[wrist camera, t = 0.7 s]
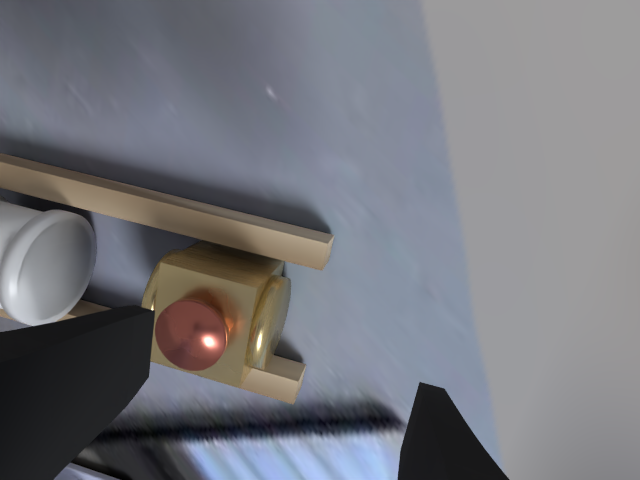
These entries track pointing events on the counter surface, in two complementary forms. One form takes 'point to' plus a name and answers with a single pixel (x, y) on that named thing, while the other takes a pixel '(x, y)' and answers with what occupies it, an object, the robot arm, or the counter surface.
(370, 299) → the counter surface
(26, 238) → the coupling
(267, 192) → the counter surface
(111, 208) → the guide rails
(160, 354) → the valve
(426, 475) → the robot arm
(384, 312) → the counter surface
